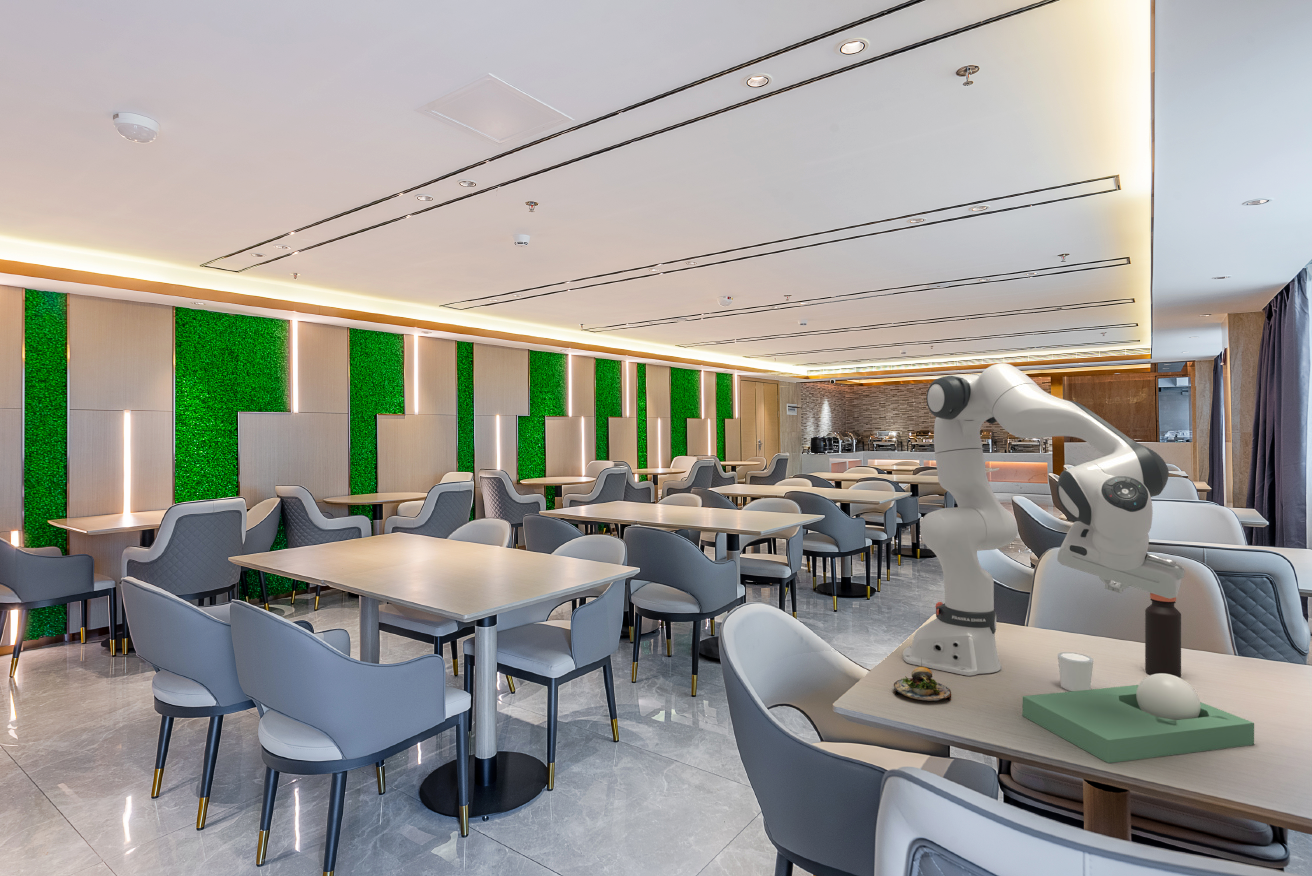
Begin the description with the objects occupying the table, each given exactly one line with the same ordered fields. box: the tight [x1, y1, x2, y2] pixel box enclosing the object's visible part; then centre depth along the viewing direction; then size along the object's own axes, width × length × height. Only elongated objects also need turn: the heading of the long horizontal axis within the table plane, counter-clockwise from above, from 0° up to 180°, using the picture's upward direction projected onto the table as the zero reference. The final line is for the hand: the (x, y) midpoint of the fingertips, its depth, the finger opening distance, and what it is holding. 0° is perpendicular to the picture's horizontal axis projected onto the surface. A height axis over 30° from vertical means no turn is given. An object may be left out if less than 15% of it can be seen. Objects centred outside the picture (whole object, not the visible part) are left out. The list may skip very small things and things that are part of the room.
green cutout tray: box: [1022, 684, 1255, 764], centre depth 130 cm, size 32×20×4 cm, turn 102°
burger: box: [892, 658, 953, 702], centre depth 147 cm, size 12×12×8 cm
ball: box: [1136, 673, 1201, 720], centre depth 131 cm, size 10×10×10 cm
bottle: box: [1144, 592, 1182, 678], centre depth 159 cm, size 7×7×20 cm
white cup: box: [1057, 651, 1094, 692], centre depth 151 cm, size 7×7×7 cm
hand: (1114, 588), depth 136 cm, fingers closed
